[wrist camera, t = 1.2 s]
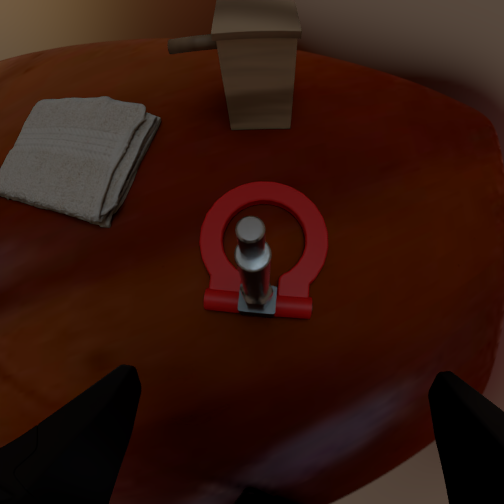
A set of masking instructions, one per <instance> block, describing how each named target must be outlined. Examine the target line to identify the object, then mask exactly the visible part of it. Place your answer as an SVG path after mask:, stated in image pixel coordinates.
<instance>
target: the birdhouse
mask: <svg viewBox="0 0 504 504" xmlns="http://www.w3.org/2000/svg"><path fill="white" fill-rule="evenodd" d="M301 33H302V31H301V26H300V22H299V17H298V13H297V9H296V5H295V1H294V0H217V1H216V7H215V13H214V19H213V25H212V31H211V34H209V35H199V36H191V37H184V38H177V39H170V40H168V51H169V53H170V54H176V53H183V52H191V51H200V50H210V49H218V55H219V61H220V67H221V73H222V79H223V84H224V90H225V96H226V102H227V108H228V114H229V120H230V125H231V130H243V129H290V124H291V112H292V101H293V89H294V76H295V64H296V50H297V38H301Z"/></svg>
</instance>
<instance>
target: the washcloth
mask: <svg viewBox="0 0 504 504" xmlns="http://www.w3.org/2000/svg"><path fill="white" fill-rule="evenodd" d="M145 111H146V108H145V106H144V105H143V104H137V103H128V102H121V101H119V100H113V99H111V98H109V97H106V96H103V97H99V98H64V99H47V100H46V99H44V100H42V101H39V102H38V103H37V104H36V105H35V106H34V107H33V109H32V111H31V113H30V115H29V116H28V118H27V119H26V122H25V123H24V126H23V128H22V131H21V133H20V135H19V137H18V139H17V141H16V143H15V145H14V148H13V149H12V150H10V152H9V154H8V155H7V157H6V159H5V161H4V163H3V165H2V167H1V169H0V196H1V197H5V198H7V199H9V198H10V199H12V200H13V201H14V200H15V201H16V200H17V201H20V202H22V203H25V204H29V205H31V206H33V205H34V206H35V207H37V208H41V209H46V210H48V209H49V210H52V211H55V212H59V213H64V214H66V215H69V216H72V217H77V218H78V219H82V220H84V221H87V222H90V224H97V225H99V226H100V227H108V228H110V227H111V219H112V215H113V214H115V213H116V212H117V210H118V209H119V208H120V206H121V205H122V204H123V202H124V200H125V198H126V196H127V194H128V191H129V189H130V187H131V185H132V183H133V181H134V178H135V175H136V173H137V169H138V167H139V165H140V163H141V161H142V159H143V157H144V155H145V153H146V152H147V150H148V148H149V145H150V143H151V141H152V140H153V137H154V135H155V133H156V131H157V129H158V127H159V125H160V122H161V118H160V117H157V116H154V115H151V114H150V113H145Z"/></svg>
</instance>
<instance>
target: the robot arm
mask: <svg viewBox="0 0 504 504" xmlns="http://www.w3.org/2000/svg"><path fill="white" fill-rule="evenodd" d="M140 395H141V383H140V380H139V377H138V373H137V370H136V368H135V367H134V366H130V365H120V366H119V367H117V368H116V369H115V370H113V371H112V372H110V373H109V374H108V375H106V376H105V377H103V378H102V379H101V380H99V381H98V382H97V383H95V384H94V385H92V386H91V387H90V388H88V389H87V390H85V391H84V392H83V393H81V394H80V395H78V396H77V397H76V398H74V399H73V400H71V401H70V402H69V403H67V404H66V405H64V406H63V407H62V408H60V409H59V410H57V411H56V412H55V413H53V414H52V415H50V416H49V417H48V418H46V419H45V420H43V421H42V422H41V423H39V424H38V426H37V425H36V426H35V427H33V428H32V429H30V430H29V431H28V432H26V433H25V434H23V435H22V436H20V437H19V438H17V439H15V440H14V441H12V442H10V443H8V444H7V445H5V446H3V447H1V448H0V504H109V501H110V498H111V494H112V491H113V488H114V485H115V482H116V479H117V476H118V473H119V470H120V467H121V464H122V461H123V458H124V455H125V452H126V449H127V446H128V443H129V440H130V437H131V434H132V430H133V426H134V421H135V416H136V412H137V407H138V403H139V399H140ZM428 398H429V404H430V409H431V415H432V422H433V429H434V435H435V440H436V444H437V448H438V452H439V457H440V461H441V465H442V470H443V474H444V479H445V484H446V489H447V495H448V500H449V504H504V412H503V411H502V410H501V409H500V408H498V407H497V406H496V405H494V404H493V403H492V402H491V401H489V400H488V399H487V398H485V397H484V396H483V395H481V394H480V393H479V392H477V391H476V390H475V389H474V388H472V387H471V386H470V385H468V384H467V383H466V382H464V381H463V380H462V379H460V378H459V377H458V376H456V375H455V374H454V373H452V372H451V371H445V372H439V373H438V374H437V376H436V378H435V380H434V382H433V384H432V386H431V388H430V390H429V394H428ZM248 492H252V493H254V494H253V495H248V494H247V493H248ZM234 504H298V503H295V502H292V501H290V500H287V499H285V498H282V497H280V496H272V495H269V494H267V493H264V492H262V491H260V490H258V489H255V488H253V487H248V488H246V489H245V490H244V491H243V492H242V494H241V495H240V496H239V498H238V499H237V500H236V502H235V503H234Z"/></svg>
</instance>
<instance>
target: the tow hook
mask: <svg viewBox="0 0 504 504" xmlns="http://www.w3.org/2000/svg"><path fill="white" fill-rule="evenodd" d="M258 204H271V205H275V206H278V207H281V208H283V209H285V210H286V211H288V212H290V213H291V214H292V215H293V216H294V217H295V218H296V219H297V221H298V222H299V224H300V225H301V227H302V230H303V233H304V237H305V248H304V252H303V255H302V257H301V258H300V260H299V262H298V263H297V264H296V265H295V266H294V267H293V268H292V269H291V270H290V271H288V272H286V273H284V274H282V275H281V276H280V278H279V281H278V293H277V287H275V286H271V285H270V283H269V279H270V267H271V249H270V247H269V245H268V244H267V242H265V225H264V223H263V222H262V220H261V219H259V218H258V217H255V216H246V217H243V218H242V219H240V220H239V221H238V223H237V225H236V228H235V230H236V236H237V241H238V245H237V247H236V249H235V252H234V257H235V261H236V264H237V268H238V270H237V269H236V268H235V267H234V266H233V265H232V264H231V263H230V262H229V260H228V258H227V257H226V255H225V252H224V247H223V239H224V233H225V230H226V227H227V225H228V223H229V222H230V221H231V219H232V218H233V217H234V216H235V215H236V214H237V213H239V212H240V211H241V210H243V209H245V208H247V207H249V206H253V205H258ZM199 244H200V250H201V256H202V260H203V262H204V264H205V266H206V269H207V271H208V273H209V275H210V283H209V288H206V291H205V294H204V309H205V310H214V311H223V312H233V313H240V314H241V315H247V316H258V317H269V318H273V317H274V316H275V317H288V318H301V319H310V317H311V314H312V306H313V304H312V298H311V297H309V285H310V284H311V283H312V282H313V281H314V280H315V279H316V277H317V275H318V274H319V272H320V270H321V269H322V267H323V265H324V263H325V259H326V255H327V251H328V231H327V228H326V225H325V222H324V219H323V216H322V215H321V213H320V212H319V210H318V209H317V207H316V205H315V204H314V203H313V202H312V201H311V200H310V199H309V198H307V197H306V196H305V195H304V194H303V193H301V192H299V191H298V190H296V189H294V188H292V187H290V186H288V185H284V184H280V183H277V182H264V181H257V182H252V183H247V184H243V185H240V186H238V187H236V188H234V189H232V190H230V191H228V192H227V193H225V194H224V195H223V196H222V197H220V198H219V199H218V200H217V201H216V202H215V203H214V204H213V206H212V207H211V208H210V210H209V211H208V212H207V214H206V217H205V219H204V222H203V224H202V227H201V233H200V242H199Z"/></svg>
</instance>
